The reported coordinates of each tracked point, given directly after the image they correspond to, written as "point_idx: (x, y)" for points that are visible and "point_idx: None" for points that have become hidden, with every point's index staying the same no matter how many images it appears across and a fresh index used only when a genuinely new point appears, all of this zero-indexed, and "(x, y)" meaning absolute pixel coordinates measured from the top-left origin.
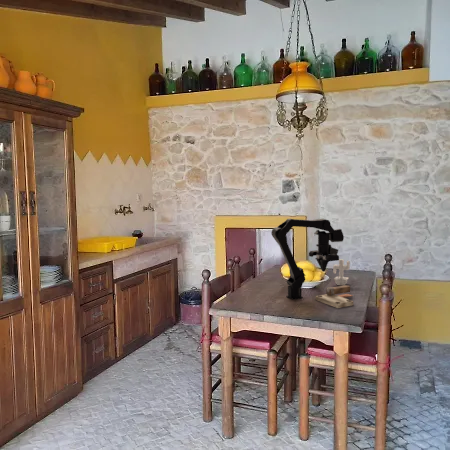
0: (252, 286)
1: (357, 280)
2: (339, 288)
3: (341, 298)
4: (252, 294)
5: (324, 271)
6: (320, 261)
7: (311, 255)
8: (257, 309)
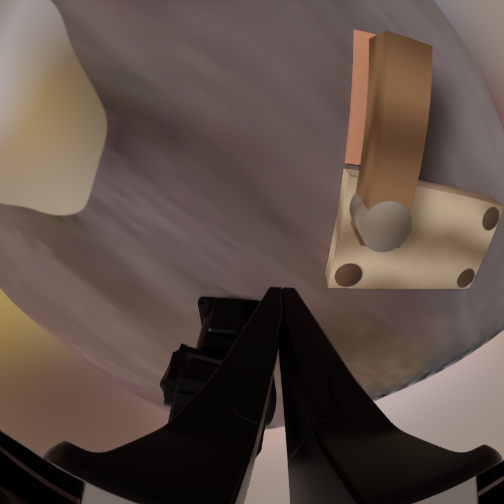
0: (47, 320)
1: None
2: (420, 159)
3: (454, 213)
4: (135, 370)
5: (292, 290)
6: (293, 484)
7: (74, 492)
8: (282, 414)
